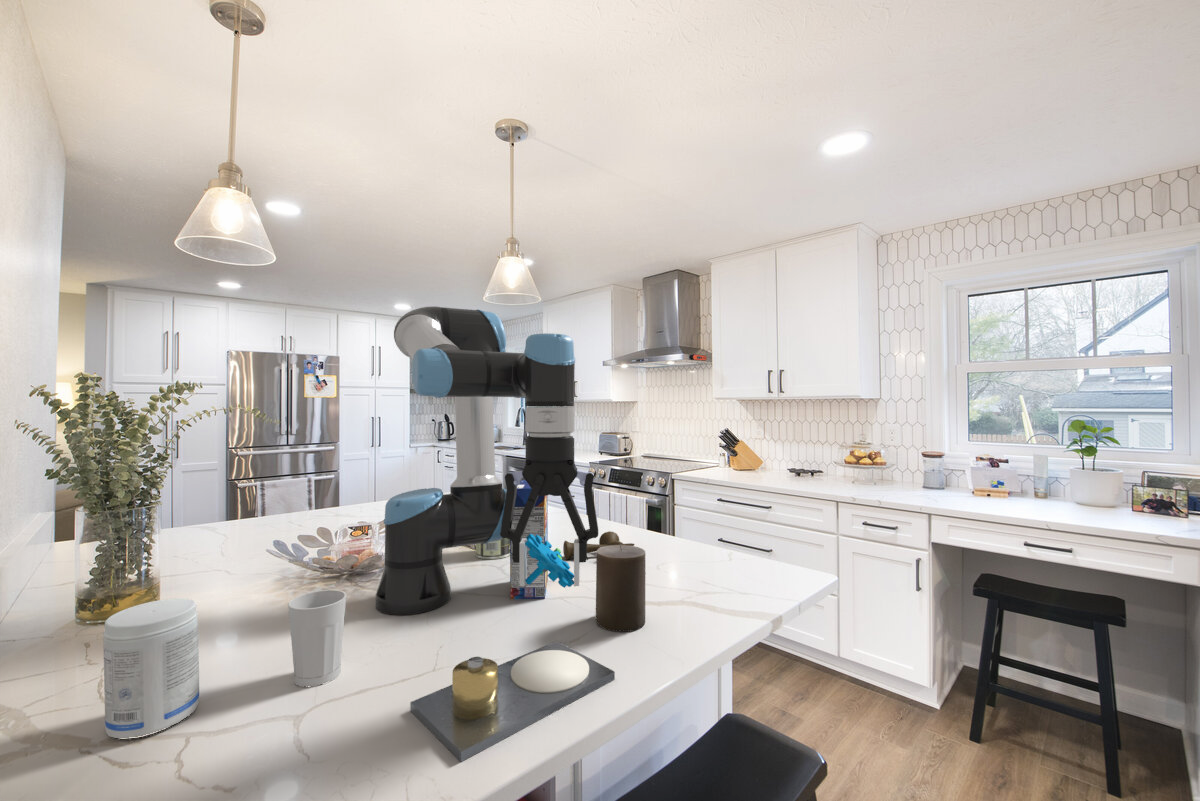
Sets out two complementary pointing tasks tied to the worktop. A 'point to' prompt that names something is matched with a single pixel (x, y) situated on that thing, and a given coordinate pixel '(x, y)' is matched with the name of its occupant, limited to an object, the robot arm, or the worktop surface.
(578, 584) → the robot arm
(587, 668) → the disc
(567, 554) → the kendama
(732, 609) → the worktop surface
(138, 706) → the supplement tub
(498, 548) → the coffee can
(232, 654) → the worktop surface
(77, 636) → the worktop surface
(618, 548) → the pillar candle
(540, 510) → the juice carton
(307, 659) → the cup
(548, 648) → the carrier plate
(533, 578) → the gear
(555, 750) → the worktop surface
